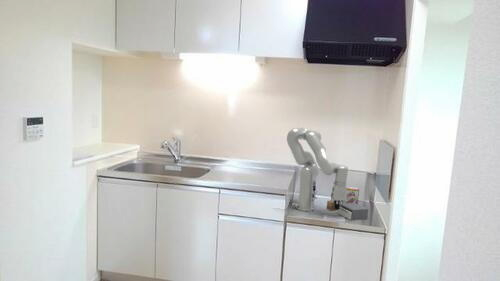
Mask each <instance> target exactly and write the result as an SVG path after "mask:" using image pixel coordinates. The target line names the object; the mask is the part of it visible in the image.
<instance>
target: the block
mask: <svg viewBox="0 0 500 281" xmlns="http://www.w3.org/2000/svg"><path fill="white" fill-rule="evenodd" d="M334 206H335V203H334V202H333V201H331V200H327V202H326V209H327V210H328V211H331V212H333V211H335V212H336V211H337V210H336V209H334Z"/></svg>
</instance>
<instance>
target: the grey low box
mask: <svg viewBox="0 0 500 281" xmlns="http://www.w3.org/2000/svg"><path fill="white" fill-rule="evenodd" d="M340 207H342V208H344V209H346V210H347V209H349V210H351V211H352V216H351V220H350V221H356V220H357V221H358V220H367V219H368V215H369V214H368V213H369V208H367V207H365V206H363V205H361V204H359V203H358V204H356V203H343V204H342V203H341V204H340Z"/></svg>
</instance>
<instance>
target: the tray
mask: <svg viewBox="0 0 500 281" xmlns="http://www.w3.org/2000/svg"><path fill="white" fill-rule="evenodd" d="M336 213H337V214H338V215H340V216H342V217H344V218H346V219H347V220H350V221H352V220H351V216H352V212H350V211H348V210H346V209H344V208H342V207H339V210H336Z"/></svg>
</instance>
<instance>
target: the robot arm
mask: <svg viewBox="0 0 500 281" xmlns="http://www.w3.org/2000/svg"><path fill="white" fill-rule="evenodd" d="M299 140H304V141H306V143H307V144H308V146H309V147H310V149H311V151H312V152H313V154H314V156H315V158H314V156H313V154H312V153H311V152H310V151H306V150H304V148H303V146H302V144H301V143H300V141H299ZM321 140H322V135H321V133H320V132H318V131H316V130H312V129H308V128H304V127H296V128H292V129H290V130H289V132H288V133H287V135H286V142H287V145H288V147H289V149H290V151H291V153H292V156H293V157H294V160H295V162H296V164H297V165H299V166H303V167H302V168H301V169H300V171H299V192H298V201H297V202H292V203H291V206H295V208H296V209H297V210H299V211H303V212H311V211H313V210H314V207H313V206H312V204H313V203H312V202H313V192H314V178H315V177H317V176H318V175H319V174H320V172H319V171H321V172H322V173H323V174H324V175H326V176H331V175H335V177H334V181H333V186H332V189H331V192H330V193H331V194H330V198H331V199H330V201H333V202H334V203H335V206H334V209H336V210H335V211H337V210H339V207H340V204H342V201H345V200H346V197H347V187H348V186H347V179H348V172H349V168H348V166H346V165H341V164H338V163H335V162H329V160H328V158H327V157H326V151H327V150H326V147H325V146H324V144H323V143H322V141H321ZM319 168H320V170H319Z"/></svg>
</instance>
